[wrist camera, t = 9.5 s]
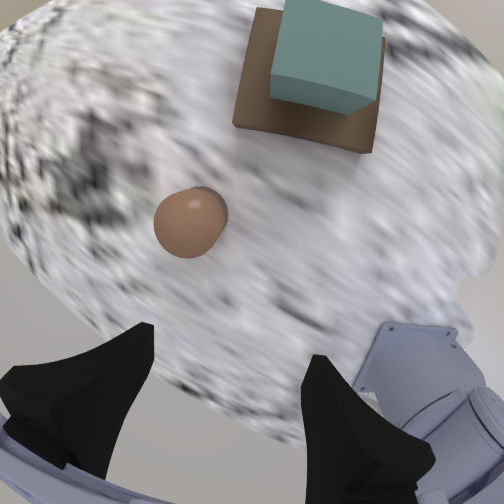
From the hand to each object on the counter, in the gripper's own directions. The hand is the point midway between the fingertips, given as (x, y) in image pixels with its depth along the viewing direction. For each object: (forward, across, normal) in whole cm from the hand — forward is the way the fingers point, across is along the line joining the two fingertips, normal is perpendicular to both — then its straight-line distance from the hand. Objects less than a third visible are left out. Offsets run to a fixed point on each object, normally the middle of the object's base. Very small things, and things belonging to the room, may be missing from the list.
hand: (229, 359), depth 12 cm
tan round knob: (+10, +4, -4) cm, 11 cm away
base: (+10, -2, -15) cm, 18 cm away
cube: (+8, -2, -15) cm, 17 cm away
